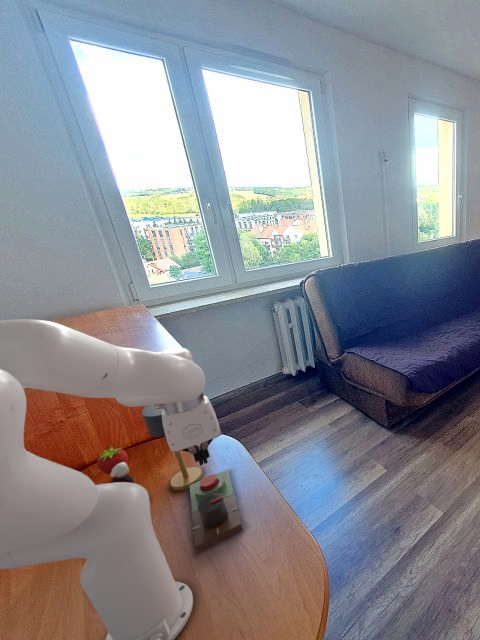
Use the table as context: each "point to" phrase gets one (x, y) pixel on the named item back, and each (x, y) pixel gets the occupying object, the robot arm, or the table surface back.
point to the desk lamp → (186, 474)
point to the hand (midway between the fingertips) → (203, 460)
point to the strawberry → (111, 459)
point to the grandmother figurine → (121, 473)
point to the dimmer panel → (219, 533)
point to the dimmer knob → (213, 511)
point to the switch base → (222, 488)
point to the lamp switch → (209, 483)
